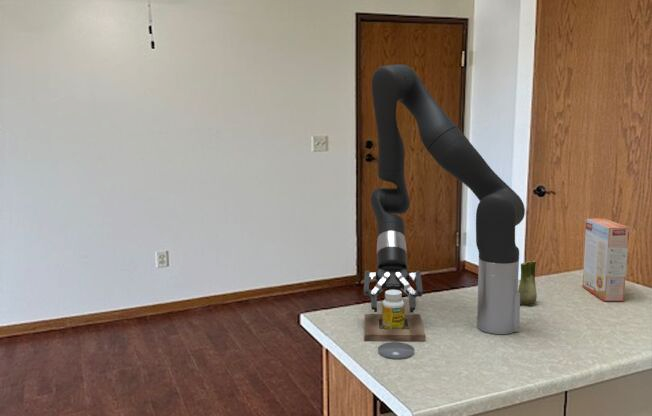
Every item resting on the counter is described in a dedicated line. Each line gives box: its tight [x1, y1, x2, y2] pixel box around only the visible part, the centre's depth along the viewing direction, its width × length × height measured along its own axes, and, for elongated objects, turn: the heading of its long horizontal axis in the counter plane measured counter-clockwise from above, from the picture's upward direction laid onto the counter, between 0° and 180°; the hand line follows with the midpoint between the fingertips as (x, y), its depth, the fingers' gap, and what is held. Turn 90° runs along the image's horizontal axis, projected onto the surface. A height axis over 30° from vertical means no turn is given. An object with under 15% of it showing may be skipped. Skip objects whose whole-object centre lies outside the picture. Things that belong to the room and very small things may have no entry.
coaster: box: [377, 341, 415, 360], centre depth 127 cm, size 8×8×1 cm
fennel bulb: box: [518, 260, 538, 306], centre depth 156 cm, size 6×5×12 cm
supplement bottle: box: [381, 289, 406, 329], centre depth 139 cm, size 5×5×10 cm
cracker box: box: [581, 217, 630, 302], centre depth 163 cm, size 14×6×21 cm, turn 179°
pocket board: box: [363, 313, 426, 342], centre depth 140 cm, size 14×14×2 cm
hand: (393, 311), depth 138 cm, fingers open, 8 cm apart
